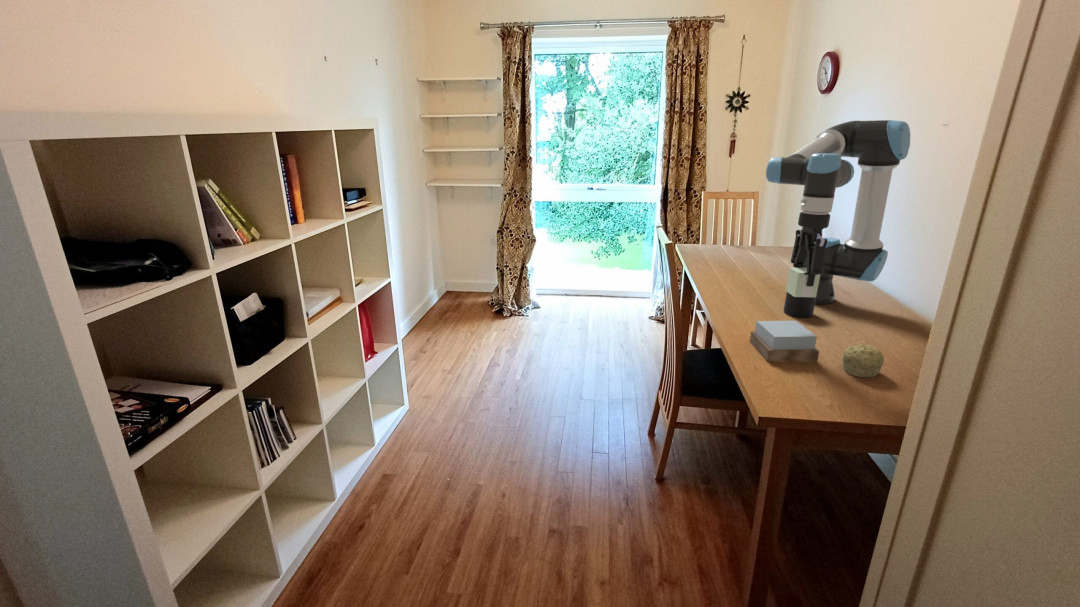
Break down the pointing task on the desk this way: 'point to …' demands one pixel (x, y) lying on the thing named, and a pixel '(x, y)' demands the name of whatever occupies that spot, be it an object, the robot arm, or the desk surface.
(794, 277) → the block
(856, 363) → the decorative item
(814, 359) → the bottom slab
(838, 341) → the desk surface
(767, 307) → the desk surface
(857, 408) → the desk surface
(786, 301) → the mug
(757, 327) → the top slab
